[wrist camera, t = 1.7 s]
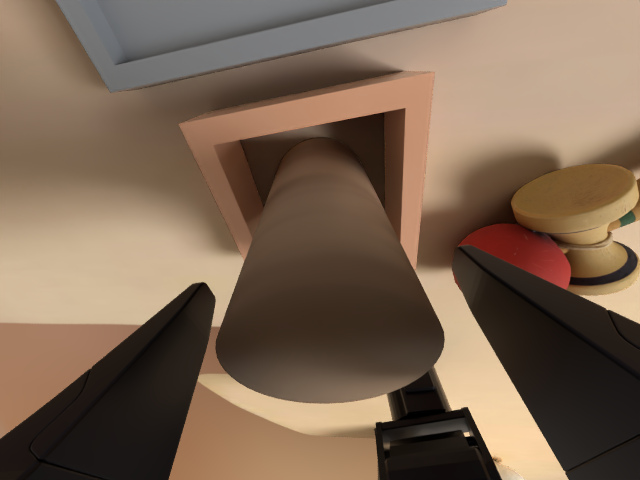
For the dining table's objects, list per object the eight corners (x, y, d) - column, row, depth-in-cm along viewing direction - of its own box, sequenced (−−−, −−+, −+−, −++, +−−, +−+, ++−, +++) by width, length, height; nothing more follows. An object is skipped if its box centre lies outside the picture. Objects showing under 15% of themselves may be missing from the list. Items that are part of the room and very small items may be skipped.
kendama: (738, 26, 12) (420, 233, 16) (1067, 14, 7) (495, 314, 11) (677, 146, 17) (446, 282, 21) (849, 187, 12) (506, 352, 16)
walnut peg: (366, 214, 16) (431, 394, 7) (288, 227, 17) (259, 410, 8) (361, 129, 13) (465, 263, 4) (264, 147, 13) (166, 303, 4)
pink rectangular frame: (399, 236, 17) (415, 269, 14) (267, 255, 18) (258, 290, 15) (404, 71, 11) (434, 71, 9) (209, 111, 12) (178, 124, 9)
